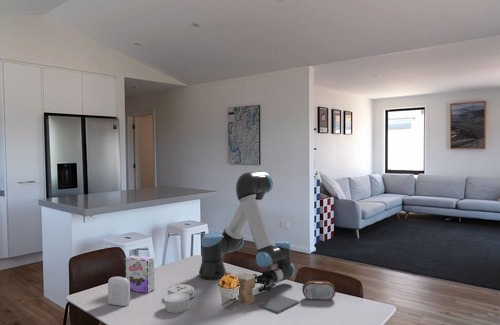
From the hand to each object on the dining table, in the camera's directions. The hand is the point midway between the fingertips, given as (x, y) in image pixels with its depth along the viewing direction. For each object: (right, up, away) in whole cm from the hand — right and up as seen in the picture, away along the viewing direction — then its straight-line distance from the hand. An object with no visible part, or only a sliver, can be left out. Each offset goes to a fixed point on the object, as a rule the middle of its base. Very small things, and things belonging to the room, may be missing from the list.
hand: (241, 288), depth 168 cm
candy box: (-52, -7, +17) cm, 55 cm away
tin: (+36, -6, +3) cm, 36 cm away
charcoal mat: (+17, -6, -3) cm, 18 cm away
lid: (-29, -7, +7) cm, 31 cm away
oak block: (+1, -7, +2) cm, 7 cm away
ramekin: (-28, -7, -6) cm, 30 cm away
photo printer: (-56, -7, 0) cm, 56 cm away
